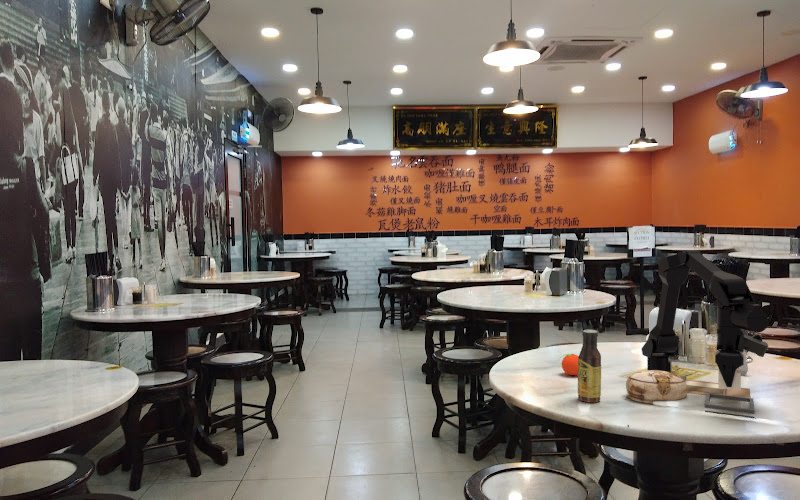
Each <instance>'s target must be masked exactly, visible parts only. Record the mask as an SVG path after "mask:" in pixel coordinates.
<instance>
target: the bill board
mask: <svg viewBox="0 0 800 500" xmlns="http://www.w3.org/2000/svg"><path fill="white" fill-rule="evenodd" d="M679 376H680V377H682V378H683V379H684V381H685V383H686V385H687V394H691V395H700V396H706V394H707V393H712V394H720V395H729V396H737V397H746V398H752V397H751V388H747V387H741V390H733V389H724V388H718V382H714V381H705V380H697V379H696V380H694V379H688V378H687V376H685V375H679Z"/></svg>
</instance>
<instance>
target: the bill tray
mask: <svg viewBox="0 0 800 500" xmlns="http://www.w3.org/2000/svg"><path fill="white" fill-rule="evenodd" d="M711 398H715V399H723V400H732V401H739V402H748V403H749V407H750V408H746V407H739V406H738V407H736V406H728V405H720V404H713V403H710V399H711ZM704 408H707V409H713V410H720V411H721V410H722V411H730V412H735V413H736V412H737V413H746V414H752V415H753V414H755V402H754V398H753V397H751V398H746V397H737V396H729V395H720V394H712V393H707V394H706V395H705V401H704ZM713 410H706V409H705V410H704V412H705V413H712V414H719V415H725V416H726V415H727V416H734V417H741V418H742V417H743V418H748V419H749V418H750V419H755V416H750V415H741V414H737V413H736V414H735V413H734V414H733V413H728V412H720V411H713Z"/></svg>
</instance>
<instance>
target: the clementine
mask: <svg viewBox="0 0 800 500" xmlns="http://www.w3.org/2000/svg"><path fill="white" fill-rule="evenodd" d="M562 357H563V359H562V361H561V368H562V370H563V372H564V373H565V374H567V376H568V375H569V376H571V375H575V376H578V357H579V355H578V354H576V353H575V354H574V353H567V354H563V355H561V356H560V358H559V359H561V358H562ZM558 361H560V360H558Z"/></svg>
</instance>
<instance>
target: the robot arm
mask: <svg viewBox="0 0 800 500" xmlns="http://www.w3.org/2000/svg"><path fill="white" fill-rule="evenodd" d="M690 271H693V272H694V273H695V274H696V275H697V276H698V277H700V278H701V279H702V280H704V281H705V282H706V283H707V284H708V285H709V291H710V293H712V295H713V296H714V298H715V299H716V300H715V301H714V302H712V306H713V307H716V308H717V313H716V314H717V316H716V318H717V322H716V323H717V324H716V325H717V329H716V335H717V336H716V337H717V339H716V340H717V341H716V352H715V354H714V357H715V358H714V362H715V364H716V365H717V367H718V371H719V370H720V372H721V375H722V377H723V379H724V381H725V384H726V386H727V387H732V383H733V379H734V375H735V372H736V369H737V368H739V367H740V366H742V365H744V356H743V354H742V353H743V352H744V350H745V351H747V352H749V353H752V354H755V355H757V356H758V357H761V358H763V357H764V356H765V354H766V352H767V350H768V348H769V344H768V343H767V342H766V341H763V336H762V335H760V334H758V333H762V332H764V331H765V330H766V329H767V328H768V326H769V322H770V318H769V317H768V315H767V313H766V312H765V311H764V310H762V305H761V304H757V302H756V300H755V299H756V298H755V297H754V296H753V294H752V292H751V290H750V288H749V285H748V283H747V281H746V280H745V279H744V278H743V277H740V276H738V275H736V274H734V273H733V274H732V273H729V272H726V271H723V270H722V269H721V268H720V267H719V266H717V265H716V264H714V263H713V262H712V261H710V259H708V258H707V257H705V256H704V255H703V254H702V252H701V251H700V250H697V249H696V250H695V249H692V250H687V249H686V250H685V249H684V250H682V251H680V252H678V253H675V254H672V255H669V256H663V257H662V258H660V260H659V262H658V276H659V278H660V280H661V282H662V285H661V293H660V297H659V298H660V300H659V305H658V306H659V307H658V311H657V318H656V324H655V326H654V327H653V328H652V329H651V330H650V331H649V334H648V337H647V340H646V341H645V343H644V344H643V346H641V353H642V354H641V355H642V356H645V357H646V359H647V360H646V361H647V367H646V368H647V370H659V371H666V372H670V373H673V372H672V370H673V369H672V365H673V362H672V360H670V358H675V357H676V353H677V349H679V341H680V337H679V335H677V334H676V331H675V330H674V327H675V319H676V314H677V309H678V303H679V296H680V290H681V286H682V285H683V284H684V283H685V282H686V280H687V279H688V278H689V274H690ZM744 331H747V332H753V333H754V334H753V335H746V334H745V332H744ZM741 352H742V353H741ZM647 370H646V371H647Z"/></svg>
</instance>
